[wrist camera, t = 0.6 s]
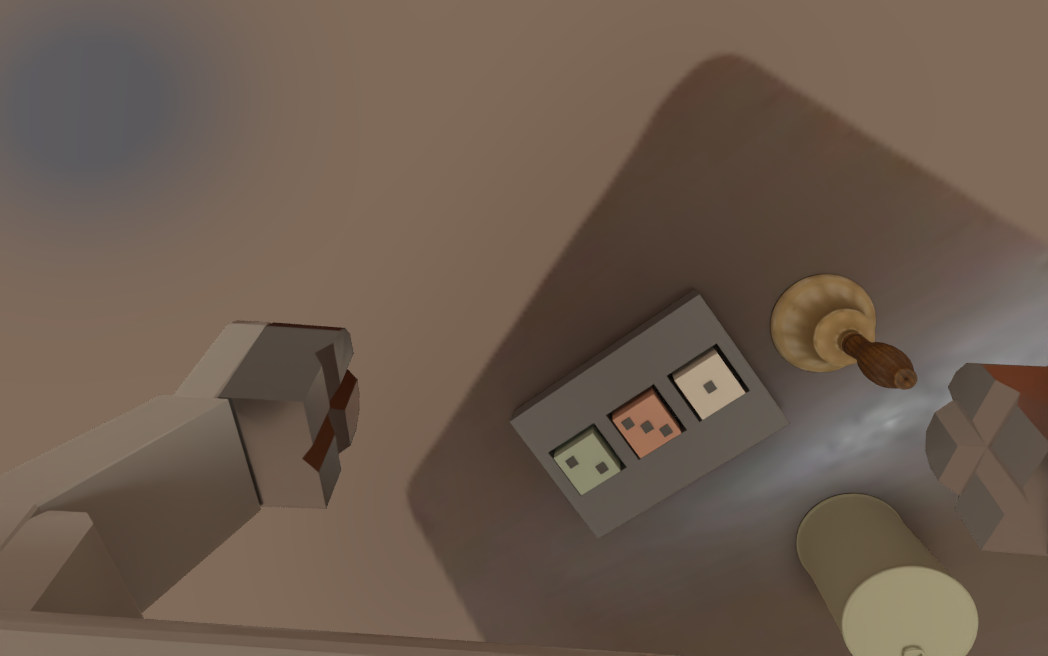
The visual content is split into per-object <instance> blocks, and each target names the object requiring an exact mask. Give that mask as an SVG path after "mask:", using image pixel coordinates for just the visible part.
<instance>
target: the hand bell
mask: <svg viewBox="0 0 1048 656" xmlns="http://www.w3.org/2000/svg"><path fill="white" fill-rule="evenodd" d="M875 326H876V314H875V309H874V306H873V303H872V301H871V299H870V297H869V295H868V294H867V293H866V291H865V290H864V289H863V288H862V287H861V286H860V285H858V284H857V283H855V282H854V281H852V280H850V279H848V278H845V277H842V276H839V275H834V274H820V275H815V276H810V277H807V278H805V279H802V280H800V281H798V282H797V283H795V284H794V285H792V286H791V287H790V288H788V289H787V290H786V291H785V292H784V293H783V295H782V296H781V297H780V298H779V300H778V301H777V303H776V305H775V308H774V310H773V313H772V317H771V323H770V328H771V336H772V340H773V343H774V345H775V347H776V349H777V351H778V352H779V354H780V355H781V356H782V357H783V358H784V359H785V360H786V361H787V362H789V363H790V364H792V365H793V366H795V367H797V368H800V369H802V370H806V371H810V372H830V371H834V370H838V369H841V368H843V367H845V366H847V365H852V364H854V363H858V366H859V368H860V370H861V371H862V373H863V374H864V375H865V376H866V377H867V378H868V379H869V380H871V381H872V382H874V383H875V384H877V385H879V386H882V387H886V388H899V389H910V388H912V387H913V386H914V385H915V384H916V382H917V375H916V373H915V372H914V369H913V365H912V363H911V361H910V359H909V358H908V357H907V356H906V355H905V354H904V353H903V352H902V351H900V350H899V349H897V348H895V347H894V346H891V345H888V344H885V343H880V342H874V341H875Z"/></svg>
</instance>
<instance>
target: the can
mask: <svg viewBox="0 0 1048 656" xmlns="http://www.w3.org/2000/svg"><path fill="white" fill-rule="evenodd" d="M796 547H797V553H798V556H799V559H800V561H801V563H802V565H803V567H804V568H805V569H806V571H807V572H808V573H809V574H810V576H811V577H812V579H813V581H814V583H815V585H816V586H817V588H818V590H819V592H820V594H821V596H822V597H823V599H824V601H825V603H826V605H827V607H828V609H829V611H830V612H831V614H832V616H833V618H834V620H835V622H836V624H837V626H838V628H839V630H840V632H841V634H842V636H843V639H844V641H845V644H846V646H847V648H848V649H849V651H850V652H851V654H852V655H853V656H966V654H967V653H968V652H969V650H970V649H971V647H972V645H973V643H974V641H975V638H976V635H977V631H978V614H977V609H976V606H975V603H974V601H973V599H972V597H971V596H970V594H969V593H968V591H967V590H966V589H965V588H964V587H963V586H962V585H961V584H960V583H959V582H958V581H957V580H956V579H954V578H953V577H952V576H951V575H950V573H949V572H948V571H947V570H946V569H945V568H944V567H943V566H942V565H941V564H940V563H939V562H938V561H937V560H936V558H935V557H934V556H933V555H932V554H931V553H930V552H929V551H928V550H927V549H926V548H925V546H924V545H923V544H922V543H921V542H920V541H919V540H918V539H917V538H916V536H915V535H914V534H913V533H912V532H911V531H910V530H909V529H908V528H907V526H906V525H905V524H904V523H903V521H902V519H901V518H900V516H899V515H898V513H897V512H896V511H895V510H894V509H893V508H892V507H891V506H889V505H888V504H886V503H885V502H883V501H882V500H880V499H877V498H875V497H872V496H869V495H864V494H856V493H849V494H841V495H837V496H833V497H830V498H828V499H826V500H824V501H822V502H820V503H819V504H817V505H816V506H815V507H813V508H812V509H811V510H810V511H809V512H808V513H807V515H806V516H805V517H804V519H803V520H802V522H801V524H800V526H799V529H798V533H797V538H796Z"/></svg>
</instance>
